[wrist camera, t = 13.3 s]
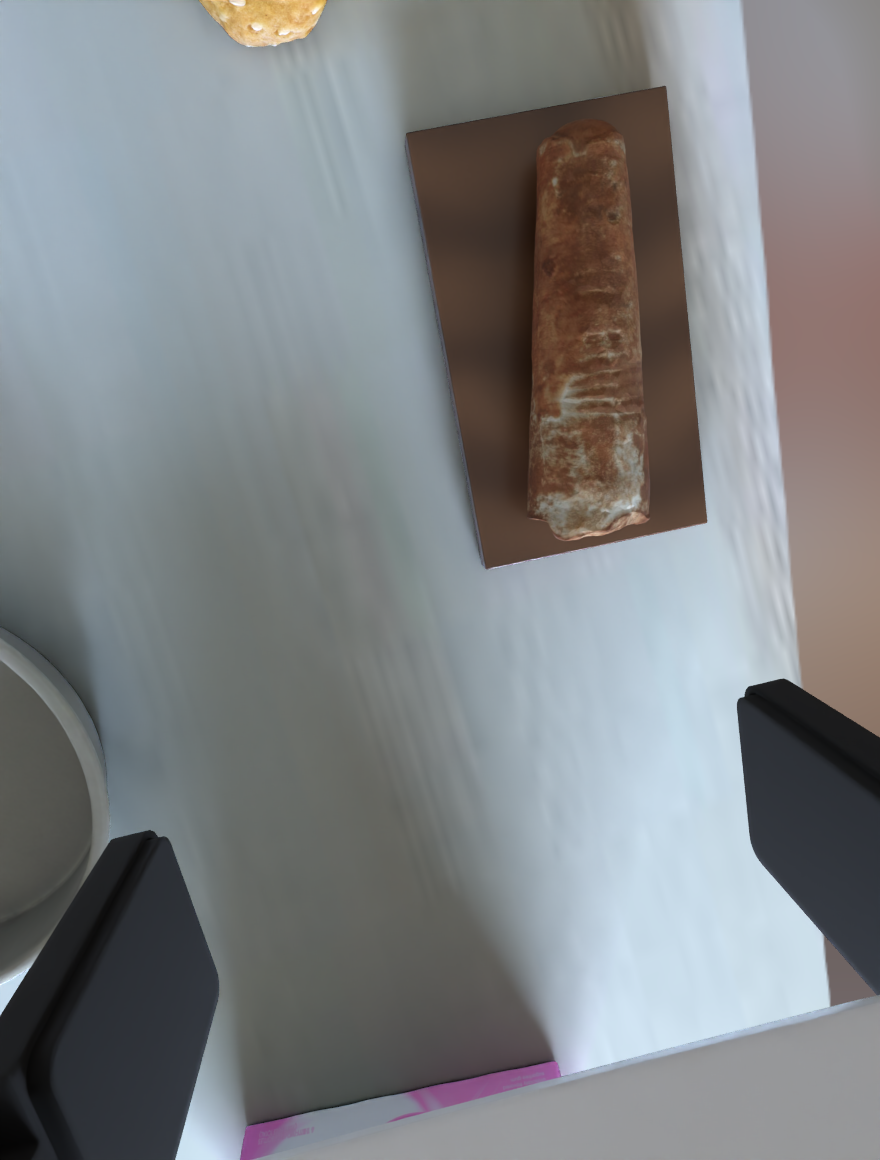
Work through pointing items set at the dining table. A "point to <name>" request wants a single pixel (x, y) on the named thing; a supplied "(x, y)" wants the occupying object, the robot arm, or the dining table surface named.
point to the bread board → (505, 310)
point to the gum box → (383, 1110)
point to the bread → (586, 340)
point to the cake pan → (44, 801)
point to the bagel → (265, 19)
